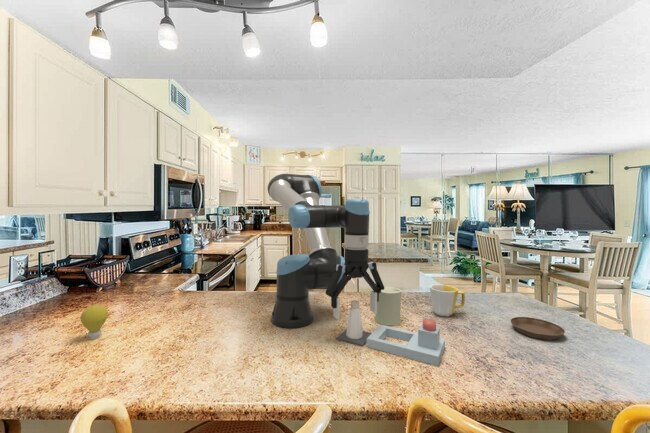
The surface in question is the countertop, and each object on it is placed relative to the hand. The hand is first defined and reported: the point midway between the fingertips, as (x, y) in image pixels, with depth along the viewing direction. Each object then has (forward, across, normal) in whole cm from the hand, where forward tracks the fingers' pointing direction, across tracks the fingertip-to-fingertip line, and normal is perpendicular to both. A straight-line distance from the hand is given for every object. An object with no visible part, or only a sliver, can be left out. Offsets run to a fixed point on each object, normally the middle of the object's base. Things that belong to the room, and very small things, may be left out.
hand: (355, 314), depth 91 cm
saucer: (+8, +58, -21) cm, 63 cm away
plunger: (0, +14, -17) cm, 22 cm away
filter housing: (+7, +10, -12) cm, 17 cm away
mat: (+7, 0, 0) cm, 7 cm away
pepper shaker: (+7, 0, 0) cm, 7 cm away
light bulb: (+7, -74, +31) cm, 81 cm away
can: (+7, +18, +7) cm, 21 cm away
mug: (+7, +44, +3) cm, 45 cm away
